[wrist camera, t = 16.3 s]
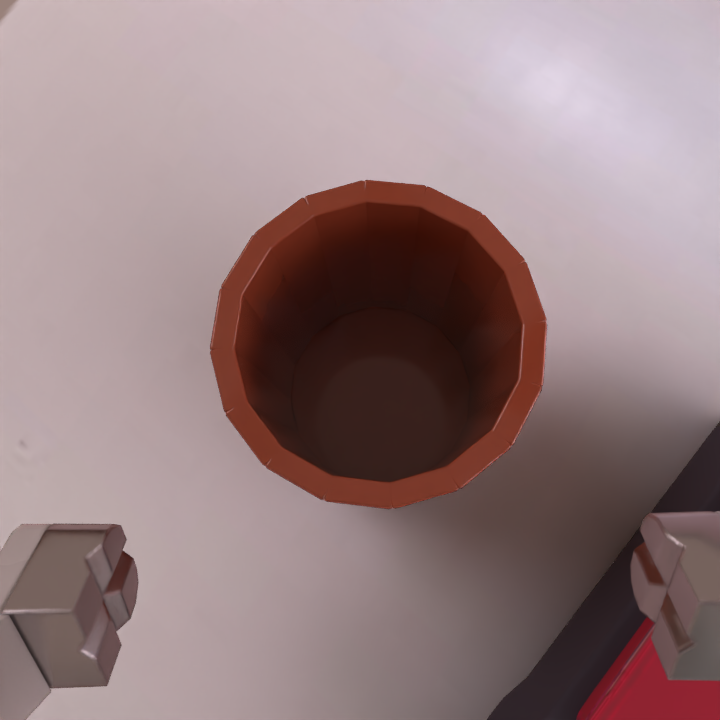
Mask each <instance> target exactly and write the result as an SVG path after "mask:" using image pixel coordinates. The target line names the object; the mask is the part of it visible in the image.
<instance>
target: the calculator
mask: <svg viewBox="0 0 720 720" xmlns="http://www.w3.org/2000/svg"><path fill="white" fill-rule="evenodd" d="M698 511H713V512H716V511H720V422H719V423H718V425H717V426H716V427H715V428H714V430H713V431H712V432H711V434H710V435H709V436H708V438H707V439H706V440H705V442H704V443H703V444H702V446H701V447H700V448H699V450H698V451H697V452H696V454H695V455H694V456H693V458H692V459H691V460H690V462H689V463H688V464H687V466H686V467H685V468H684V470H683V471H682V472H681V474H680V475H679V476H678V478H677V479H676V480H675V482H674V483H673V484H672V486H671V487H670V488H669V490H668V491H667V492H666V493H665V495H664V496H663V497H662V499H661V500H660V501H659V503H658V504H657V505H656V507H655V508H654V509H653V511H652V512H651V513H666V512H698ZM640 528H641V527H640ZM640 528H639V529H638V531H637V532H636V533H635V535H634V536H633V537H632V539H631V540H630V541H629V543H628V544H627V545H626V547H625V548H624V549H623V551H622V552H621V553H620V555H619V556H618V557H617V559H616V560H615V561H614V563H613V564H612V565H611V567H610V568H609V569H608V571H607V572H606V573H605V575H604V576H603V577H602V579H601V580H600V581H599V583H598V584H597V585H596V587H595V588H594V589H593V591H592V592H591V593H590V595H589V596H588V597H587V599H586V600H585V601H584V603H583V604H582V605H581V607H580V608H579V609H578V611H577V612H576V613H575V615H574V616H573V617H572V619H571V620H570V621H569V623H568V624H567V625H566V627H565V628H564V629H563V631H562V632H561V633H560V635H559V636H558V637H557V639H556V640H555V641H554V643H553V644H552V645H551V647H550V648H549V649H548V651H547V652H546V653H545V655H544V656H543V657H542V658H541V660H540V661H539V662H538V664H537V665H536V666H535V668H534V669H533V670H532V672H531V673H530V674H529V676H528V677H527V678H526V679H525V680H524V681H522V682H521V683H520V684H519V685H518V686H517V687H516V688H514V689H513V690H512V691H511V692H510V693H509V694H507V695H506V696H505V697H504V698H503V699H502V700H501V702H500V703H499V704H498V705H497V707H496V708H495V709H494V711H493V712H492V713H491V715H490V716H489V717H488V719H487V720H720V681H701V680H668V679H667V676H666V674H665V672H664V669H663V667H662V664H661V662H660V659H659V657H658V654H657V652H656V650H655V647H654V645H653V642H652V640H651V636H652V633H653V630H654V627H655V623H654V622H652V621H651V620H650V619H649V618H648V617H647V616H645V615H644V614H643V613H642V612H641V611H640V610H639V607H638V604H637V602H636V599H635V597H634V593H633V588H632V584H631V569H630V564H631V560H632V556H633V552H634V549H636V548H637V547H638V546H639V545H641V544H642V543H643V542H645V541H644V539H643V536H642V534H641V532H640Z"/></svg>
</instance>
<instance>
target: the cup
mask: <svg viewBox="0 0 720 720" xmlns="http://www.w3.org/2000/svg"><path fill="white" fill-rule="evenodd" d="M546 336H547V323H546V316H545V313H544V311H543V308H542V305H541V302H540V299H539V296H538V294H537V291H536V288H535V285H534V282H533V279H532V277H531V274H530V271H529V268H528V265H527V263H526V262H525V259H524V258H523V257H522V256H521V255H520V254H519V253H518V251H517V250H516V249H515V248H514V247H513V246H512V245H511V244H510V243H509V241H508V240H507V239H506V238H505V237H504V236H503V235H502V234H501V233H500V231H499V230H498V229H497V228H496V227H495V226H494V225H493V224H492V223H491V221H490V220H489V219H488V218H487V217H486V216H485V215H482V213H481V212H479V211H477V210H475V209H473V208H471V207H469V206H467V205H465V204H463V203H461V202H459V201H457V200H455V199H453V198H451V197H449V196H447V195H445V194H443V193H441V192H439V191H437V190H435V189H433V188H430V187H427V188H426V186H425V185H416V184H405V183H394V182H383V181H373V180H365V181H358V182H355V183H351V184H347V185H344V186H340V187H337V188H333V189H329V190H326V191H322V192H319V193H315V194H311V195H308V196H305V198H301V199H300V200H298V201H297V202H296V203H294V204H293V205H292V206H290V207H289V208H288V209H286V210H285V211H284V212H282V213H281V214H280V215H278V216H277V217H276V218H274V219H273V220H272V221H270V222H269V223H267V224H266V225H265V226H263V227H262V228H261V229H259V230H258V231H257V232H256V233H255V234H254V235H253V236H252V237H251V239H250V240H249V242H248V243H247V245H246V247H245V248H244V250H243V251H242V253H241V255H240V256H239V258H238V259H237V261H236V263H235V264H234V266H233V268H232V269H231V271H230V272H229V274H228V276H227V277H226V279H225V280H224V282H223V284H222V286H221V289H220V291H219V296H218V302H217V308H216V314H215V320H214V326H213V332H212V338H211V344H210V350H211V352H210V355H211V359H212V363H213V367H214V371H215V376H216V380H217V384H218V388H219V392H220V397H221V401H222V405H223V409H224V411H225V412H226V416H227V418H228V419H229V420H230V422H231V423H232V424H233V426H234V427H235V428H236V430H237V431H238V432H239V434H240V435H241V436H242V438H243V439H244V440H245V442H246V443H247V444H248V446H249V447H250V448H251V450H252V451H253V452H254V454H255V455H256V456H257V458H258V459H259V461H260V462H261V463H262V465H264V466H266V468H267V469H269V470H271V471H272V472H274V473H276V474H277V475H279V476H281V477H283V478H284V479H286V480H288V481H290V482H291V483H293V484H295V485H296V486H298V487H300V488H302V489H303V490H305V491H307V492H309V493H310V494H312V495H314V496H315V497H317V498H319V499H321V500H325V501H327V502H334V503H342V504H350V505H359V506H367V507H375V508H383V509H392V508H394V509H396V508H400V507H403V506H407V505H410V504H414V503H417V502H421V501H424V500H428V499H431V498H435V497H438V496H442V495H445V494H448V493H452V492H455V491H457V490H458V489H461V488H463V487H464V486H465V485H467V484H468V483H469V482H470V481H471V480H473V479H474V478H475V477H476V476H478V475H479V474H480V473H481V472H482V471H484V470H485V469H486V468H487V467H489V466H490V465H491V464H492V463H493V462H495V461H496V460H497V459H498V458H500V457H501V456H502V455H503V454H504V453H506V452H507V451H508V450H509V449H510V448H511V446H512V445H513V444H514V443H515V441H516V439H517V437H518V435H519V433H520V431H521V429H522V427H523V426H524V424H525V422H526V420H527V418H528V416H529V414H530V412H531V410H532V408H533V406H534V404H535V402H536V400H537V398H538V396H539V394H540V392H541V391H542V386H543V383H544V367H545V352H546Z"/></svg>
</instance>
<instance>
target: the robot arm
mask: <svg viewBox="0 0 720 720" xmlns="http://www.w3.org/2000/svg"><path fill="white" fill-rule="evenodd" d="M640 532H641V534H642V536H643V539H644V541H645V542H643V543H642V544H641V545H639V546H638V547H637V548H636V549H634V552H633V556H632V560H631V564H630V569H631V584H632V588H633V593H634V597H635V599H636V602H637V604H638V607H639V610H640V611H641V612H642V613H643V614H644V615H645V616H647V617H648V618H649V619H650V620H651V621H652V622H654V623H655V627H654V630H653V633H652V636H651V640H652V642H653V645H654V647H655V650H656V652H657V654H658V657H659V659H660V662H661V664H662V667H663V669H664V672H665V674H666V676H667V679H668V680H701V681H720V511H716V512H713V511H698V512H666V513H648V514H647V515H646V516H645V517H644V518H643V521H642V525H641V528H640ZM126 540H127V539H126V536H125V534H124V532H123V529H122V527H121V525H117V524H21V525H20V526H19V527H18V528H16V529H15V530H14V531H13V532H12V533H11V535H10V536H9V538H8V540H7V541H6V543H5V545H4V546H3V548H2V550H1V551H0V720H26V719H27V718H28V717H29V715H30V714H31V713H32V712H33V711H34V710H35V709H36V708H37V707H38V706H39V705H40V704H41V702H42V701H43V700H44V699H45V698H46V697H47V696H48V695H49V694H50V693H51V689H50V688H73V687H98V686H107V685H108V682H109V679H110V676H111V673H112V671H113V668H114V665H115V662H116V659H117V656H118V653H119V651H120V648H121V642H120V640H119V637H118V635H117V632H116V631H118V630H119V629H120V628H121V627H122V626H123V625H124V624H125V623H126V622H127V621H128V620H130V619H131V616H132V613H133V610H134V607H135V604H136V599H137V590H138V573H137V567H136V564H135V561H134V558H132V557H131V556H129V555H128V554H127V553H125V552H124V551H123V548H124V545H125V543H126Z"/></svg>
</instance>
